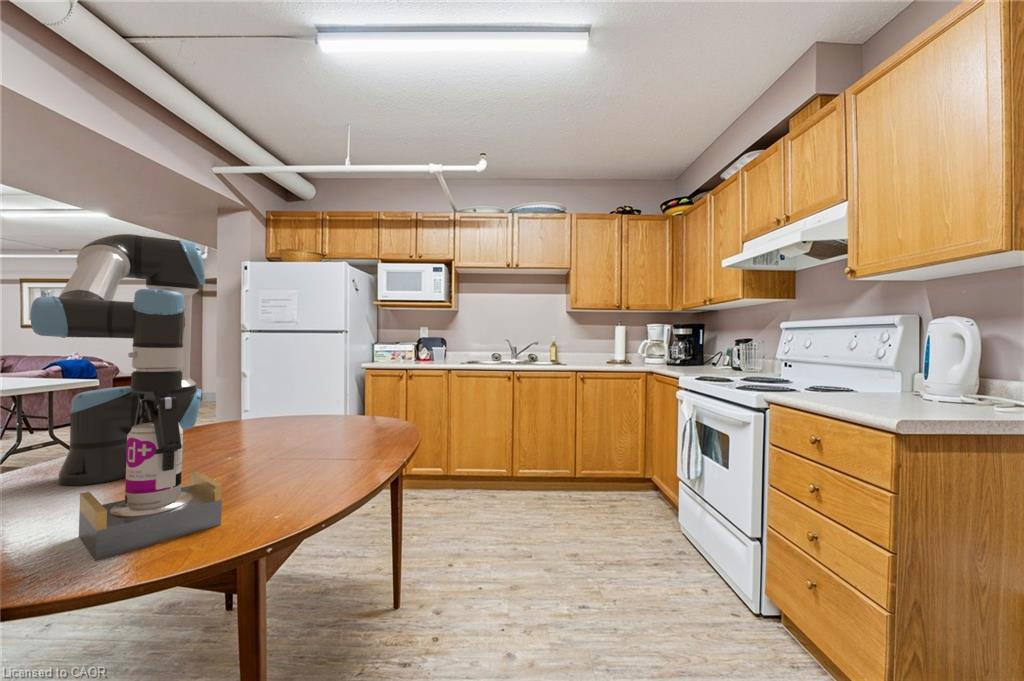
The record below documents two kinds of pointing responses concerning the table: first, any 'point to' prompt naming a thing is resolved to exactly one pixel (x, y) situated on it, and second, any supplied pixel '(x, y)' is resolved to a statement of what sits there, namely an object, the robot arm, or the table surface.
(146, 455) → the supplement can
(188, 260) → the robot arm
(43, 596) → the table surface
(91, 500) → the grey boxy piece
